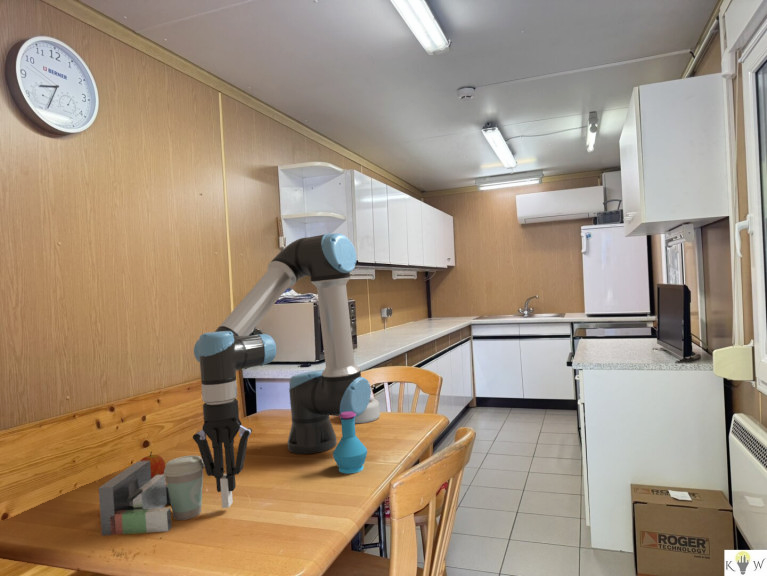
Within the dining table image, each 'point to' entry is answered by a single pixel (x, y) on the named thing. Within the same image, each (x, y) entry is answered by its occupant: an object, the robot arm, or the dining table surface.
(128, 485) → the gauge base
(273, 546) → the dining table surface
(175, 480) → the coffee cup
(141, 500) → the grey rectangular block
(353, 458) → the perfume bottle
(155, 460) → the fruit
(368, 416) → the donut shape
